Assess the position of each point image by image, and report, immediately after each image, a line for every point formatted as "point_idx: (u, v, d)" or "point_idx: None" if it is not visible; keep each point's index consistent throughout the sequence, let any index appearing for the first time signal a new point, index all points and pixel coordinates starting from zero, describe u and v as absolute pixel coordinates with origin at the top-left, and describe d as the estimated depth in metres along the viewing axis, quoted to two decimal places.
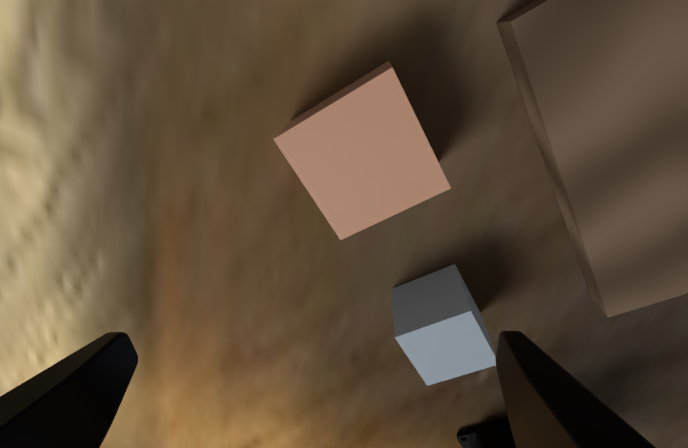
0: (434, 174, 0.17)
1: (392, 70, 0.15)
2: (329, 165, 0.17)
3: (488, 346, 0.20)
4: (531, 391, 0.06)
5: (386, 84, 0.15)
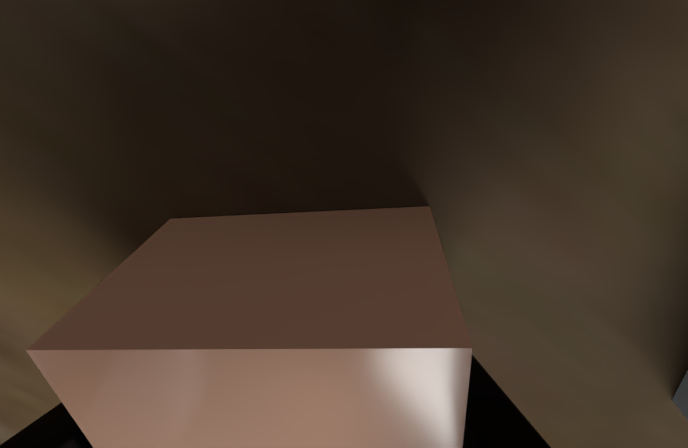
0: (389, 371, 0.05)
1: (35, 352, 0.05)
2: None
3: None
4: None
5: (72, 375, 0.05)
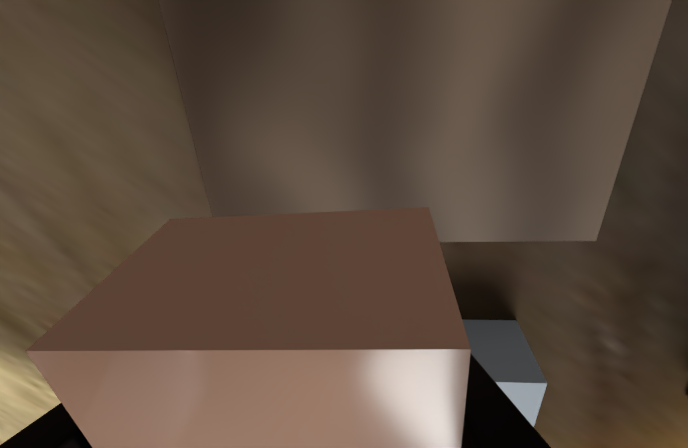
0: (388, 372, 0.05)
1: (35, 353, 0.05)
2: None
3: (513, 383, 0.18)
4: None
5: (72, 376, 0.05)
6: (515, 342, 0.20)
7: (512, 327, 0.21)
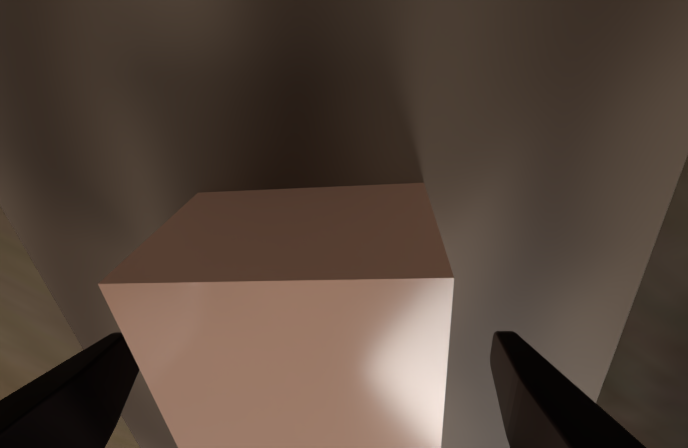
0: (389, 298, 0.06)
1: (105, 285, 0.06)
2: (270, 441, 0.08)
3: None
4: (524, 391, 0.06)
5: (133, 306, 0.06)
6: None
7: None
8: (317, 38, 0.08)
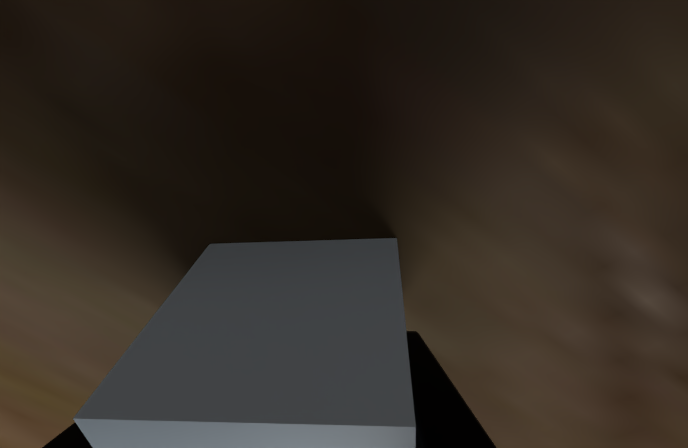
0: None
1: None
2: None
3: (286, 426, 0.05)
4: None
5: None
6: (367, 289, 0.07)
7: (378, 255, 0.08)
8: None
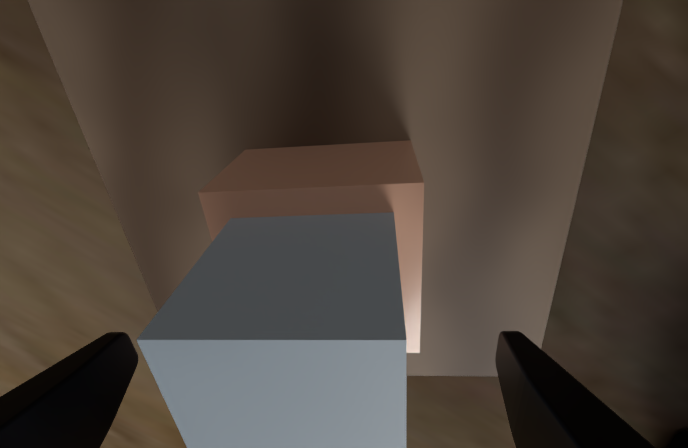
0: (384, 198, 0.09)
1: (202, 194, 0.10)
2: None
3: (306, 342, 0.06)
4: (531, 391, 0.06)
5: (219, 208, 0.10)
6: (368, 250, 0.08)
7: (378, 225, 0.09)
8: (335, 35, 0.11)
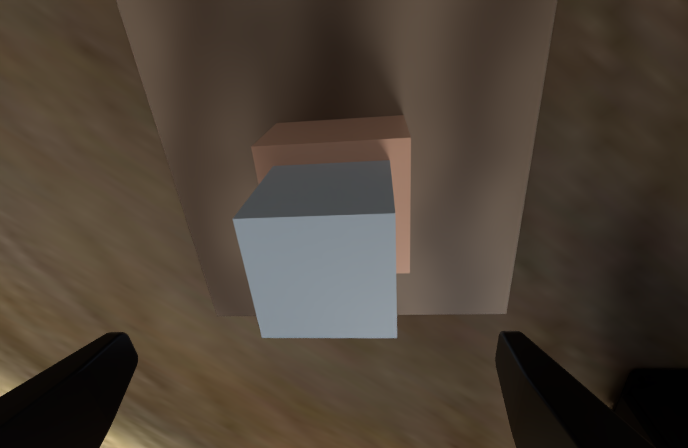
0: (383, 150, 0.13)
1: (254, 147, 0.14)
2: None
3: (335, 217, 0.10)
4: (531, 391, 0.06)
5: (265, 158, 0.14)
6: (372, 178, 0.12)
7: (378, 167, 0.13)
8: (347, 35, 0.15)
